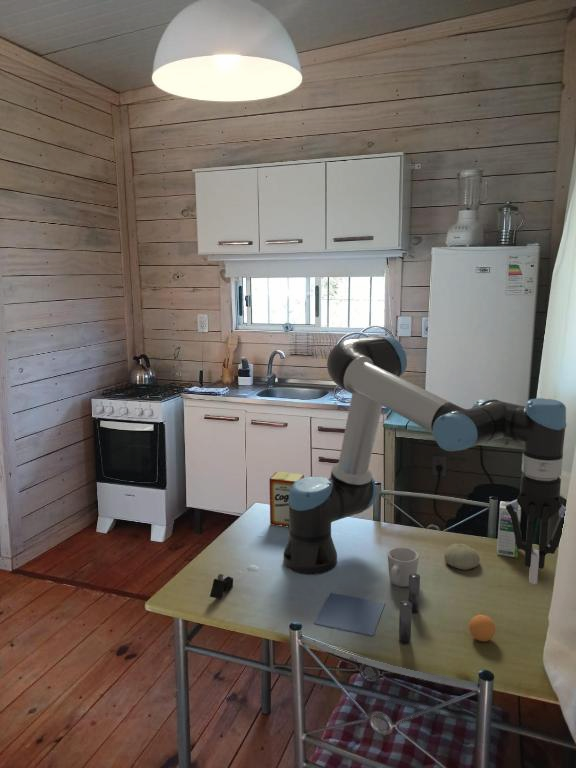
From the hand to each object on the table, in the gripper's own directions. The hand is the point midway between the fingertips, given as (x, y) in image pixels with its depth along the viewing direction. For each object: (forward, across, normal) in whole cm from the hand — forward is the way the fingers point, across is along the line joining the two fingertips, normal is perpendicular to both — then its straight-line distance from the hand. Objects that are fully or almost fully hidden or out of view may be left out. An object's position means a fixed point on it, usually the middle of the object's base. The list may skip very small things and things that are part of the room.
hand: (532, 580), depth 127 cm
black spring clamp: (+16, -73, -3) cm, 74 cm away
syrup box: (+16, -5, +45) cm, 48 cm away
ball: (+13, -10, 0) cm, 16 cm away
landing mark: (+16, -40, 0) cm, 43 cm away
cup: (+16, -31, +17) cm, 39 cm away
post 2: (+16, -26, +6) cm, 31 cm away
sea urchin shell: (+17, -17, +34) cm, 41 cm away
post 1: (+16, -26, -6) cm, 31 cm away
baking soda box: (+16, -72, +43) cm, 85 cm away
